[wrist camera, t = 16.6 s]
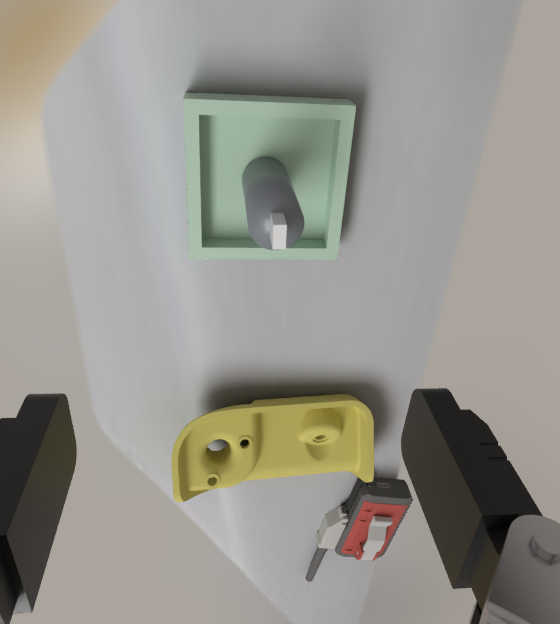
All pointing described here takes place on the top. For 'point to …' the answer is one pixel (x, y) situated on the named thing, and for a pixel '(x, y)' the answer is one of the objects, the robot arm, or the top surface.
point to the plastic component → (274, 442)
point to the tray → (258, 143)
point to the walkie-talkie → (363, 521)
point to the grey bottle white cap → (271, 204)
